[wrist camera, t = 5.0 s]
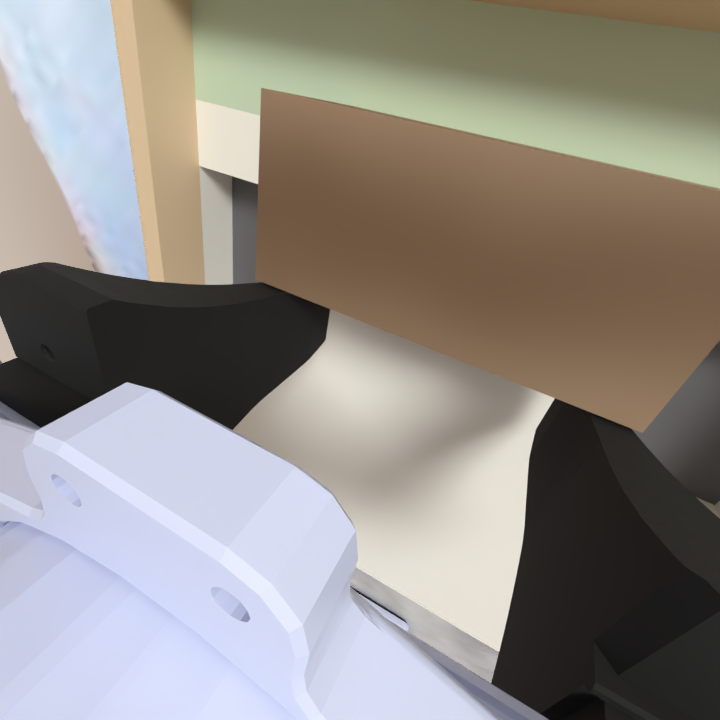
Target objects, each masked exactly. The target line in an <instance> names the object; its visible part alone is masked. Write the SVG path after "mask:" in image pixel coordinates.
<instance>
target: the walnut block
mask: <svg viewBox="0 0 720 720" xmlns="http://www.w3.org/2000/svg"><path fill="white" fill-rule="evenodd" d="M255 280H258V281H260V282H263V283H266V284H268V285H271V286H273V287H276V288H278V289H281V290H283V291H286V292H288V293H291V294H293V295H296V296H298V297H301V298H303V299H306V300H308V301H311V302H313V303H316V304H318V305H321V306H324V307H326V308H329V309H331V310H334V311H336V312H339V313H341V314H344V315H346V316H349V317H351V318H354V319H356V320H359V321H361V322H364V323H366V324H369V325H371V326H374V327H376V328H379V329H382V330H384V331H387V332H389V333H392V334H394V335H397V336H399V337H402V338H404V339H407V340H409V341H412V342H414V343H417V344H419V345H422V346H424V347H427V348H429V349H432V350H435V351H437V352H440V353H442V354H445V355H447V356H450V357H452V358H455V359H457V360H460V361H462V362H465V363H467V364H470V365H472V366H475V367H477V368H480V369H482V370H485V371H487V372H490V373H493V374H495V375H498V376H500V377H503V378H505V379H508V380H510V381H513V382H515V383H518V384H520V385H523V386H525V387H528V388H530V389H533V390H535V391H538V392H540V393H543V394H545V395H548V396H551V397H553V398H556V399H558V400H561V401H563V402H566V403H568V404H571V405H573V406H576V407H578V408H581V409H583V410H586V411H588V412H591V413H593V414H596V415H598V416H601V417H604V418H606V419H609V420H611V421H614V422H616V423H619V424H621V425H624V426H626V427H629V428H631V429H634V430H636V431H639V432H641V433H643V432H644V431H645V429H646V428H647V427H648V426H649V425H650V423H651V422H652V421H653V420H654V419H655V417H656V416H657V415H658V414H659V413H660V411H661V410H662V409H663V408H664V407H665V405H666V404H667V403H668V402H669V401H670V399H671V398H672V397H673V396H674V394H675V393H676V392H677V391H678V390H679V388H680V387H681V386H682V385H683V384H684V382H685V381H686V380H687V379H688V378H689V376H690V375H691V374H692V373H693V372H694V370H695V369H696V368H697V367H698V366H699V364H700V363H701V362H702V361H703V360H704V358H705V357H706V356H707V355H708V354H709V352H710V351H711V350H712V349H713V348H714V346H715V345H716V344H717V343H718V342H719V340H720V189H719V188H715V187H710V186H706V185H701V184H697V183H692V182H688V181H683V180H679V179H675V178H670V177H666V176H661V175H657V174H652V173H648V172H644V171H639V170H635V169H630V168H626V167H621V166H617V165H613V164H608V163H604V162H599V161H595V160H590V159H586V158H582V157H577V156H573V155H568V154H564V153H559V152H555V151H550V150H546V149H542V148H537V147H533V146H528V145H524V144H519V143H515V142H511V141H506V140H502V139H497V138H493V137H488V136H484V135H480V134H475V133H471V132H466V131H462V130H457V129H453V128H449V127H444V126H440V125H435V124H431V123H426V122H422V121H417V120H413V119H409V118H404V117H400V116H395V115H391V114H386V113H382V112H378V111H373V110H369V109H364V108H360V107H355V106H351V105H346V104H341V103H336V102H331V101H326V100H321V99H315V98H310V97H305V96H300V95H295V94H290V93H285V92H280V91H275V90H270V89H265V88H261V108H260V141H259V173H258V206H257V239H256V271H255Z"/></svg>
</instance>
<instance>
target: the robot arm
mask: <svg viewBox="0 0 720 720" xmlns="http://www.w3.org/2000/svg"><path fill="white" fill-rule="evenodd" d="M329 314H330V309H329V308H326V307H324V306H321V305H318V304H316V303H313V302H311V301H308V300H306V299H303V298H301V297H298V296H296V295H293V294H291V293H288V292H286V291H283V290H281V289H278V288H276V287H273V286H271V285H268V284H266V283H263V282H259V283H244V284H227V285H198V284H180V283H168V282H156V281H147V280H140V279H132V278H126V277H120V276H114V275H108V274H103V273H98V272H93V271H88V270H84V269H80V268H75V267H70V266H66V265H61V264H58V263H49V262H44V263H38V264H33V265H29V266H25V267H21V268H17V269H12V270H7V271H3V272H1V273H0V316H1V318H2V321H3V324H4V326H5V329H6V331H7V334H8V336H9V339H10V342H11V344H12V347H13V349H14V352H15V354H16V356H17V357H18V358H15V359H13V360H10V361H8V362H5V363H2V362H1V361H0V720H720V518H719V517H717V516H716V515H715V514H714V513H713V512H712V511H711V510H709V509H708V508H707V507H706V506H705V505H704V504H703V503H702V502H700V501H699V500H698V499H697V498H696V497H695V496H694V495H693V494H692V493H691V492H690V491H689V490H688V489H687V488H686V487H685V486H684V485H683V484H681V483H680V482H679V481H678V480H677V479H676V478H675V477H674V476H673V475H672V474H671V473H670V472H669V471H668V470H667V469H666V468H665V467H664V465H663V464H662V463H661V462H660V461H659V460H658V459H657V458H656V457H655V456H654V454H653V453H652V452H651V451H650V450H649V449H648V448H647V447H646V445H645V444H644V443H643V442H642V441H641V440H640V438H639V437H638V436H637V435H636V434H635V432H634V431H633V430H632V429H631V428H629V427H626V426H624V425H621V424H619V423H616V422H614V421H611V420H609V419H606V418H604V417H601V416H598V415H596V414H593V413H591V412H588V411H586V410H583V409H581V408H578V407H576V406H573V405H571V404H568V403H566V402H563V401H561V400H558V399H556V398H555V399H554V401H553V402H552V404H551V406H550V407H549V409H548V410H547V412H546V414H545V415H544V417H543V419H542V420H541V422H540V423H539V425H538V427H537V428H536V431H535V435H534V439H533V443H532V448H531V452H530V457H529V467H528V480H527V496H526V511H525V526H524V535H523V544H522V549H521V554H520V559H519V564H518V570H517V575H516V580H515V584H514V589H513V594H512V599H511V603H510V608H509V613H508V617H507V621H506V626H505V630H504V634H503V638H502V642H501V647H500V651H499V655H498V659H497V663H496V667H495V671H494V675H493V679H492V683H489V682H488V681H486V680H485V679H483V678H481V677H480V676H478V675H476V674H475V673H473V672H472V671H470V670H468V669H467V668H465V667H464V666H462V665H460V664H459V663H457V662H456V661H454V660H452V659H451V658H449V657H448V656H446V655H444V654H443V653H441V652H439V651H438V650H436V649H435V648H433V647H431V646H430V645H428V644H427V643H425V642H423V641H422V640H420V639H419V638H417V637H415V636H414V635H412V634H411V633H409V632H408V630H409V627H408V625H407V624H406V623H405V622H404V621H403V620H401V619H399V618H398V617H396V616H394V615H393V614H391V613H390V612H388V611H386V610H385V609H383V608H381V607H380V606H378V605H377V604H375V603H373V602H372V601H370V600H368V599H367V598H365V597H364V596H362V595H360V594H359V593H357V592H356V591H355V590H353V589H352V588H351V587H350V582H351V579H352V576H353V573H354V570H355V567H356V564H357V561H358V550H357V539H356V529H355V527H354V525H353V522H352V521H351V519H350V518H349V516H348V515H347V513H346V512H345V510H344V509H343V507H342V506H341V504H340V503H339V501H338V500H337V498H336V497H335V495H334V494H333V492H332V491H331V490H330V489H328V488H327V487H326V486H324V485H323V484H322V483H321V482H319V481H318V480H317V479H315V478H314V477H313V476H311V475H310V474H309V473H308V472H306V471H305V470H304V469H302V468H301V467H300V466H298V465H296V464H294V463H292V462H291V461H289V460H287V459H285V458H283V457H281V456H279V455H278V454H276V453H274V452H272V451H270V450H268V449H266V448H265V447H263V446H261V445H259V444H257V443H255V442H253V441H252V440H250V439H248V438H246V437H244V436H242V435H240V434H239V433H237V432H235V431H233V429H234V428H235V427H236V426H237V425H238V424H239V423H240V422H241V420H242V419H243V418H244V417H245V416H246V415H247V414H248V413H249V412H250V411H251V410H252V409H253V408H254V407H255V406H256V405H257V404H258V403H259V402H260V401H261V400H262V399H263V398H264V397H266V396H267V395H268V394H269V393H270V392H272V391H273V390H274V389H275V388H276V387H278V386H279V385H280V384H281V383H282V382H283V381H285V380H286V379H287V378H288V377H289V376H291V375H292V374H293V373H294V372H295V371H296V370H298V369H299V368H300V367H301V366H302V365H303V364H305V363H306V362H307V361H308V360H309V359H310V358H311V357H312V356H313V354H314V353H315V352H316V351H317V350H318V349H319V347H320V346H321V345H322V344H323V342H324V341H325V340H326V334H327V327H328V321H329Z"/></svg>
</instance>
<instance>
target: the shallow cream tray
mask: <svg viewBox="0 0 720 720" xmlns="http://www.w3.org/2000/svg"><path fill="white" fill-rule="evenodd" d="M110 2H111V9H112V16H113V23H114V30H115V38H116V45H117V52H118V59H119V66H120V74H121V81H122V88H123V95H124V102H125V110H126V117H127V124H128V131H129V139H130V146H131V153H132V160H133V167H134V175H135V182H136V189H137V196H138V203H139V211H140V218H141V225H142V232H143V239H144V247H145V254H146V261H147V268H148V276H149V281H156V282H168V283H180V284H198V285H227V284H244V283H259V282H260V281H258V280H255V271H256V239H257V206H258V173H259V141H260V108H261V88H265V89H270V90H275V91H280V92H285V93H290V94H295V95H300V96H305V97H310V98H315V99H321V100H326V101H331V102H336V103H341V104H346V105H351V106H355V107H360V108H364V109H369V110H373V111H378V112H382V113H386V114H391V115H395V116H400V117H404V118H409V119H413V120H417V121H422V122H426V123H431V124H435V125H440V126H444V127H449V128H453V129H457V130H462V131H466V132H471V133H475V134H480V135H484V136H488V137H493V138H497V139H502V140H506V141H511V142H515V143H519V144H524V145H528V146H533V147H537V148H542V149H546V150H550V151H555V152H559V153H564V154H568V155H573V156H577V157H582V158H586V159H590V160H595V161H599V162H604V163H608V164H613V165H617V166H621V167H626V168H630V169H635V170H639V171H644V172H648V173H652V174H657V175H661V176H666V177H670V178H675V179H679V180H683V181H688V182H692V183H697V184H701V185H706V186H710V187H715V188H719V189H720V0H110ZM554 399H555V398H553V397H551V396H548V395H545V394H543V393H540V392H538V391H535V390H533V389H530V388H528V387H525V386H523V385H520V384H518V383H515V382H513V381H510V380H508V379H505V378H503V377H500V376H498V375H495V374H493V373H490V372H487V371H485V370H482V369H480V368H477V367H475V366H472V365H470V364H467V363H465V362H462V361H460V360H457V359H455V358H452V357H450V356H447V355H445V354H442V353H440V352H437V351H435V350H432V349H429V348H427V347H424V346H422V345H419V344H417V343H414V342H412V341H409V340H407V339H404V338H402V337H399V336H397V335H394V334H392V333H389V332H387V331H384V330H382V329H379V328H376V327H374V326H371V325H369V324H366V323H364V322H361V321H359V320H356V319H354V318H351V317H349V316H346V315H344V314H341V313H339V312H336V311H334V310H331V309H330V314H329V321H328V327H327V334H326V340H325V341H324V342H323V344H322V345H321V346H320V347H319V349H318V350H317V351H316V352H315V353H314V354H313V356H312V357H311V358H310V359H309V360H308V361H307V362H306V363H305V364H303V365H302V366H301V367H300V368H299V369H298V370H296V371H295V372H294V373H293V374H292V375H291V376H289V377H288V378H287V379H286V380H285V381H283V382H282V383H281V384H280V385H279V386H278V387H276V388H275V389H274V390H273V391H272V392H270V393H269V394H268V395H267V396H266V397H264V398H263V399H262V400H261V401H260V402H259V403H258V404H257V405H256V406H255V407H254V408H253V409H252V410H251V411H250V412H249V413H248V414H247V415H246V416H245V417H244V418H243V419H242V420H241V422H240V423H239V424H238V425H237V426H236V427H235V428H234V429H233V431H235V432H237V433H239V434H240V435H242V436H244V437H246V438H248V439H250V440H252V441H253V442H255V443H257V444H259V445H261V446H263V447H265V448H266V449H268V450H270V451H272V452H274V453H276V454H278V455H279V456H281V457H283V458H285V459H287V460H289V461H291V462H292V463H294V464H296V465H298V466H300V467H301V468H302V469H304V470H305V471H306V472H308V473H309V474H310V475H311V476H313V477H314V478H315V479H317V480H318V481H319V482H321V483H322V484H323V485H324V486H326V487H327V488H328V489H330V490H331V491H332V492H333V494H334V495H335V497H336V498H337V500H338V501H339V503H340V504H341V506H342V507H343V509H344V510H345V512H346V513H347V515H348V516H349V518H350V519H351V521H352V522H353V525H354V527H355V529H356V539H357V550H358V561H357V564H356V567H357V568H358V569H360V570H362V571H363V572H365V573H367V574H368V575H370V576H372V577H373V578H375V579H377V580H379V581H380V582H382V583H384V584H385V585H387V586H389V587H390V588H392V589H394V590H395V591H397V592H399V593H400V594H402V595H404V596H405V597H407V598H409V599H410V600H412V601H414V602H415V603H417V604H419V605H421V606H422V607H424V608H426V609H427V610H429V611H431V612H432V613H434V614H436V615H437V616H439V617H441V618H442V619H444V620H446V621H447V622H449V623H451V624H452V625H454V626H456V627H457V628H459V629H461V630H463V631H464V632H466V633H468V634H469V635H471V636H473V637H474V638H476V639H478V640H479V641H481V642H483V643H484V644H486V645H488V646H489V647H491V648H493V649H494V650H496V651H498V652H499V651H500V647H501V642H502V638H503V634H504V630H505V626H506V621H507V617H508V613H509V608H510V603H511V599H512V594H513V589H514V584H515V580H516V575H517V570H518V564H519V559H520V554H521V549H522V544H523V535H524V526H525V511H526V496H527V480H528V467H529V457H530V452H531V448H532V443H533V439H534V435H535V431H536V428H537V427H538V425H539V423H540V422H541V420H542V419H543V417H544V415H545V414H546V412H547V410H548V409H549V407H550V406H551V404H552V402H553V401H554ZM632 430H633V431H634V432H635V434H636V435H637V436H638V437H639V438H640V440H641V441H642V442H643V443H644V444H645V445H646V447H647V448H648V449H649V450H650V451H651V452H652V453H653V454H654V456H655V457H656V458H657V459H658V460H659V461H660V462H661V463H662V464H663V465H664V467H665V468H666V469H667V470H668V471H669V472H670V473H671V474H672V475H673V476H674V477H675V478H676V479H677V480H678V481H679V482H680V483H681V484H683V485H684V486H685V487H686V488H687V489H688V490H689V491H690V492H691V493H692V494H693V495H694V496H695V497H696V498H697V499H698V500H699V501H700V502H702V503H703V504H704V505H705V506H706V507H707V508H708V509H709V510H711V511H712V512H713V513H714V514H715V515H716V516H717V517H719V518H720V340H719V342H718V343H717V344H716V345H715V346H714V348H713V349H712V350H711V351H710V352H709V354H708V355H707V356H706V357H705V358H704V360H703V361H702V362H701V363H700V364H699V366H698V367H697V368H696V369H695V370H694V372H693V373H692V374H691V375H690V376H689V378H688V379H687V380H686V381H685V382H684V384H683V385H682V386H681V387H680V388H679V390H678V391H677V392H676V393H675V394H674V396H673V397H672V398H671V399H670V401H669V402H668V403H667V404H666V405H665V407H664V408H663V409H662V410H661V411H660V413H659V414H658V415H657V416H656V417H655V419H654V420H653V421H652V422H651V423H650V425H649V426H648V427H647V428H646V429H645V431H644V432H643V433H641V432H639V431H636V430H634V429H632Z"/></svg>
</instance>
